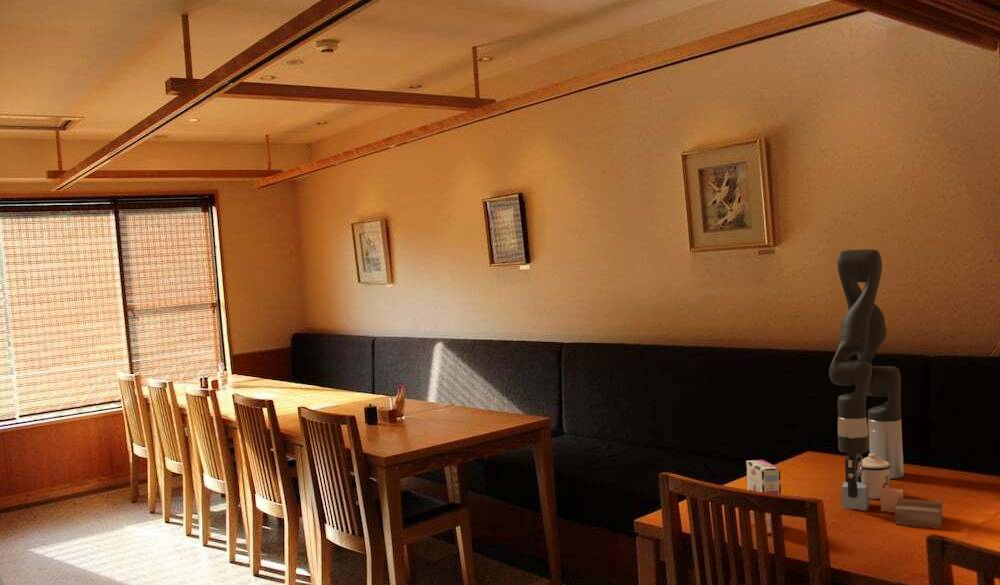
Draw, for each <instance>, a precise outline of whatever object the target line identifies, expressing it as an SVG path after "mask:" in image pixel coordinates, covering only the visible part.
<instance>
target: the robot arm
mask: <svg viewBox="0 0 1000 585" xmlns="http://www.w3.org/2000/svg"><path fill="white" fill-rule="evenodd" d="M836 263H837V264H836V265H837V272H838V276H839V280H840V283H841V286H842V290H843V293H844V296H845V300H846V304H847V309H848V311H846V313H845V315H844V317H843V319H842V323H841V326H840V333H839V334H840V336H839V342H838V347H837V349H836V352H835V354H834V356H833V359H832V361H831V363H830V365H829V369H828V376H829V379H830V381H831V382H832V383H833V384H834V385H835V386H847V387H854V386H855V390H854V392H851V393H845V394H841V395H839V396H838V397H837V415H838V416H837V440H838V442H837V445H838V450H839V451H840V452H841V453H846V454H847V456H846V458H845V459H844V464H845V465H844V466H845V479H844V480H845V481H846V482H847V483H848V496H849V497H851V498H857V496H858V495H857V483H858V482H862V478H861V476H862V472H863V459H864V458H863V454H865V453H868V452H869V454H876V457H877V458H880V459H881V460H883V461H886V462H888V463H889V464H890V480H891V479H901V478H902V477H904V475H905V474H904V473H905V472H904V453H903V452H904V451H903V431H902V430H903V429H902V408H901V407H902V403H901V402H902V401H901V400H902V398H901V395H902V394H901V392H902V391H901V390H902V377H901V372H900V369H899V367H897V366H891V365H889V366H888V365H887V366H886V365H883V366H882V365H873V364H872V361H873V359H874V357H875V355H876V354H877V352H878V351H879V349H880V348H881V347H882V345H883V343H884V342H885V340H886V338H887V327H886V326H887V325H886V320H885V314H884V313H883V311H882V310H881V308H880V307H879V306H878V305H877V304H876V302H875V301H876V298H877V294H878V290H879V285H880V282H881V277H882V270H883V261H882V255H881V253H880V252H879V250H878V249H869V248H868V249H847V250H842V251H841V252H839V254H838V257H837V262H836ZM859 283H864V286H863V289H861V287H860V285H859ZM855 355H857V359H850V358H851V357H853V356H855ZM867 396H868V397H881V398H883V397H884V398H888V399H887V401H886V402H885V403H883V404H881V405H880V404H879V405H878V406H873V407H871V408H869V409H868V410H867V404H866V403H867ZM850 476H852V477H850ZM845 481H844V482H845Z"/></svg>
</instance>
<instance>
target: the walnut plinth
mask: <svg viewBox="0 0 1000 585" xmlns="http://www.w3.org/2000/svg"><path fill="white" fill-rule="evenodd" d="M894 517H895V519H894V520H895V521H894V522H895V525H896V524H901V525H900V526H907V525H912V526H911V527H917V526H919V527H920V528H928V527H932V528H931V529H939V528H940V529H941V527H942V526H941V525H942V521H943V501H942V500H941V501H939V500H930V499H929V500H927V499H926V500H925V499H924V500H923V499H915V498H914V499H913V498H904V497H903V498H899V499H898V502H897V504H896V507H895V513H894ZM902 524H903V525H902ZM940 526H941V527H940ZM919 527H918V528H919ZM934 527H935V528H934Z"/></svg>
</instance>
